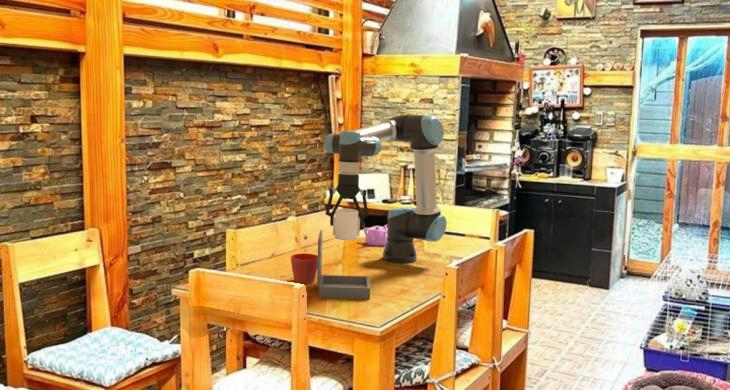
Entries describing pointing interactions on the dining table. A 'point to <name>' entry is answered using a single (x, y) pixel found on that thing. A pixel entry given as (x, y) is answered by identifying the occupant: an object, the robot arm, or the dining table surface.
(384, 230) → the pink toy pig
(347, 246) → the dining table surface
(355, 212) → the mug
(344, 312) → the dining table surface
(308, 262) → the flower pot
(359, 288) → the case
